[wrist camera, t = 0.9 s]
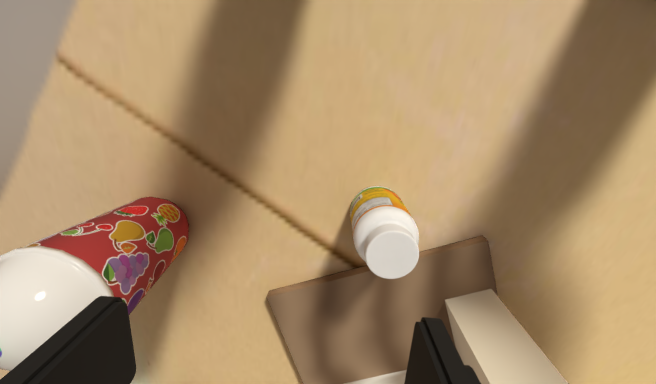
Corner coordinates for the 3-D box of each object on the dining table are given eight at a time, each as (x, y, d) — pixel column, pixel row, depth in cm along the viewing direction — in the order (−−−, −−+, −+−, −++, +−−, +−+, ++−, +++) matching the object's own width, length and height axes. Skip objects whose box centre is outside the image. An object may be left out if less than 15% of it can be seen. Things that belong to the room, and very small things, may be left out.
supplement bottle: (406, 227, 33) (435, 279, 23) (356, 238, 33) (364, 294, 24) (396, 179, 31) (423, 214, 22) (344, 191, 32) (348, 231, 22)
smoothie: (107, 204, 32) (-219, 359, 13) (174, 172, 31) (-78, 292, 12) (151, 269, 35) (-73, 481, 16) (216, 241, 33) (58, 435, 14)
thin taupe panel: (482, 235, 33) (497, 250, 30) (502, 347, 37) (517, 370, 34) (268, 290, 35) (262, 309, 32) (310, 389, 39) (308, 414, 36)
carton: (491, 288, 33) (574, 390, 22) (500, 339, 35) (581, 458, 24) (444, 299, 34) (501, 405, 22) (456, 349, 36) (514, 470, 24)
